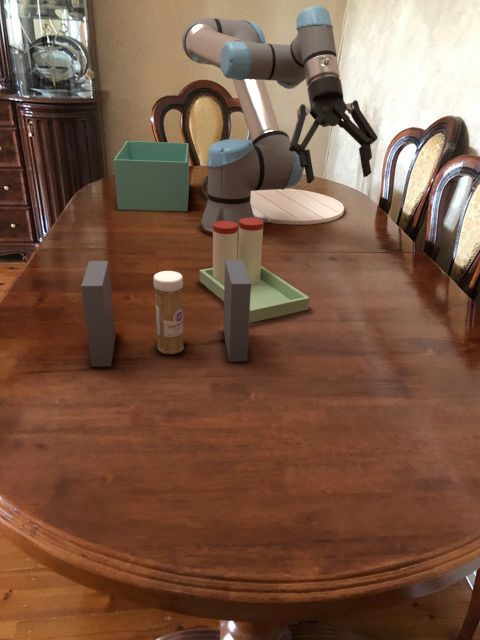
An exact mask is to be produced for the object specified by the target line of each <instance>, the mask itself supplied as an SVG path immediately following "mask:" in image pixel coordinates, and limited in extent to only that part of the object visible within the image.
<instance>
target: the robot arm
mask: <svg viewBox="0 0 480 640" xmlns="http://www.w3.org/2000/svg"><path fill="white" fill-rule="evenodd" d="M333 28H334V26H333V23H332V20H331V16H330V12H329V10H328V9H327V8H326V7H325V6H318V5H313V6H308V7H307V8H304V9H302V10H301V11H300V12H299V13H298V14H297V16H296V28H295V29H296V31H297V35H296V36H295V37H294V38H293V40H292V41H291V42H290V44H280V43H279V44H278V43H266V38H265V35H264V32H263V29H262V28H261V26H260V25H259V24H258V23H256V22H254V21H248V20H247V19H240V20H238V19H226V18H213V17H203V18H202V17H201V18H198V19H196V20H193V21H192V22H190V23H189V24H188V25H187V26H186V27H185V29H184V31H183V33H182V37H181V38H182V39H181V43H182V49H183V51H184V54H185V55H186V56H187V57H188V58H189V59H190V60H191V61H193V62H195V63H197V64H200V65H208V66H209V65H210V66H213V67H216V68H218V69H220V70H221V72H222V75H223V76H224V77H225V78H227V79H232V82H233V85H234V88H235V92H236V95H237V98H238V101H239V104H240V108H241V111H242V114H243V117H244V120H245V124H246V126H247V130H248V134H249V136H250V139H247V138H229V139H222V140H219V141H215V142H214V143H212V144H211V145H209V147H208V152H207V153H208V154H207V162H206V164H207V175H205V177H204V181H203V183H202V185H201V189H200V190H201V191H200V192H201V195H202V196H203V197H204V198H205V200H207V202H206V205H205V209H204V211H203V215H202V217H201V222H200V229H201V231H202V232H203V233H205V234H207V235H210V236H213V223H215V222H218V221H231V222H235V223H237V224H238V238H239V220H240V219H243V218H255V215H253V211H252V207H251V203H250V198H251V191H257V190H276V189H281V190H284V189H295V188H296V187H297V186H298V185H299V184H300V182H301V180H302V178H303V175H304V172H305V179H306V184H312V182H313V181H314V180H315V175H314V168H313V164H312V162H313V161H312V157H311V156H312V155H311V152H310V149H306V148H307V147H308V145H309V143H310V141H311V140H312V138H313V137H314V135H315V133H316V132H317V130H318V128H319V126H321V127H322V128H327V127H336V126H338V127H339V128H341V129H343V130H344V131H345V132H346V133H347V134H348V135H349V136H350V137H351V138H352V139H353V140H354V141H355V142H357V144H359V145H360V147H359V148H358V151H359V158H360V165H361V170H362V177H363V178H367V177H368V176H370V175H371V174H372V168H371V162H370V161H372V158H373V154H372V149H371V146H372V144H374V143H375V142H376V141H377V140H378V135H377V134H376V132H375V131H374V129H373V127H372V126H371V124H370V123H369V121H368V120H367V118H366V117H365V115H364V114H363V112H362V110H361V109H360V105H359V101H358V100H356V99H355V100H353V101H352V102H348V103H346V102H345V100H344V91H343V85H342V80H341V73H340V68H339V67H340V66H339V61H338V57H337V48H336V43H335V36H334V29H333ZM266 81H276V83H277V84H278V85H279V86H281V87H282V88H284V89H287V90H291V89H295V88H296V87H298V86H299V85H300V84H301V83H303V82H304V81H305V85H306V86H307V95H308V96H307V97H308V101H309V106H306V104H304V103H302V104H300V105H299V107H298V109H297V110H296V114H297V115H296V116H297V120H296V124H295V126H294V130H293V133H292V137H291V138H290V137H289V134H288V133H287V132H286V131H284V130H282V129H281V126H280V124H279V120H278V117H277V114H276V111H275V108H274V105H273V102H272V99H271V96H270V94H269V90H268V87H267V84H266ZM346 111H347V112H348V114H347V113H346ZM308 115H310V116H311V117H312V118H313V119H314V121H313V123H312V124H311V126H310V127H309V130H308V131H307V132H306V134H305V136H304V138H303V139H302V141H301V143H299V142H300V138H301V135H302V131H303V127H304V124H305V121H306V118H307V117H308ZM349 115H350V116H351V117H350V116H349ZM351 118H352V120H353V121H354V122H353V121H352V120H351ZM206 184H207V194H206V193H205V186H206Z"/></svg>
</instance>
